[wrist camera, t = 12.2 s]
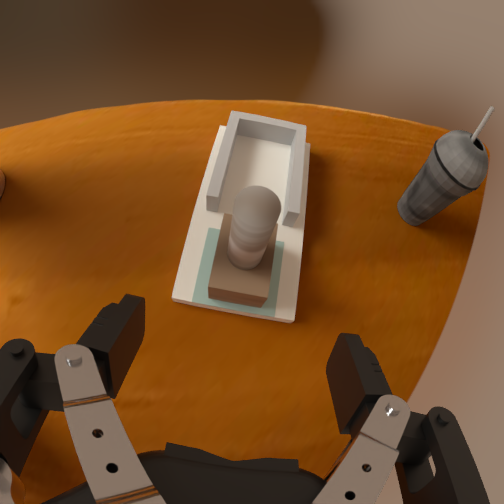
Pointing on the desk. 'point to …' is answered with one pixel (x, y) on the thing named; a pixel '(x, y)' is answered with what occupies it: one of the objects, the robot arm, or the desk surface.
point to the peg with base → (246, 249)
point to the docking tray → (222, 201)
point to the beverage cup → (446, 175)
